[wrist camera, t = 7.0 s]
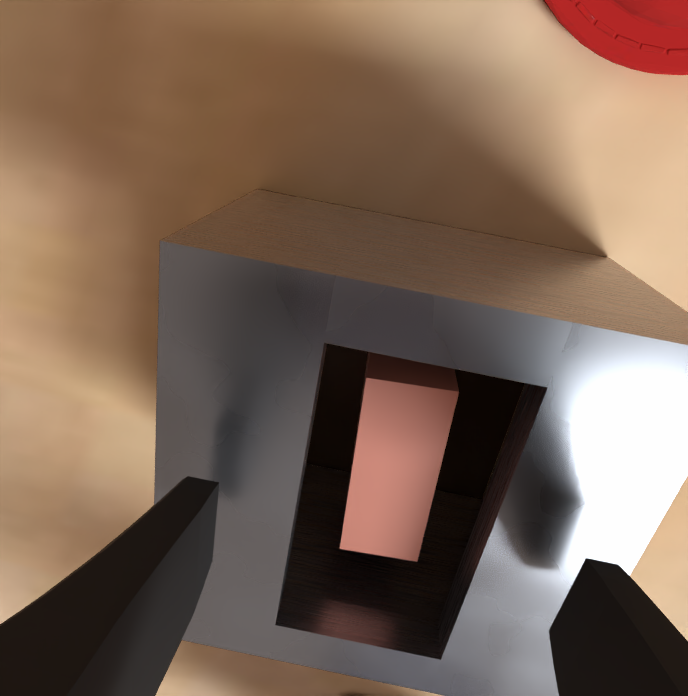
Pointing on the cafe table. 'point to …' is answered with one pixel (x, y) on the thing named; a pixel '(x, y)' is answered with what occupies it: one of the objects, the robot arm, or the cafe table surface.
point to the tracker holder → (630, 31)
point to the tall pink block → (397, 455)
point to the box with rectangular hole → (447, 508)
